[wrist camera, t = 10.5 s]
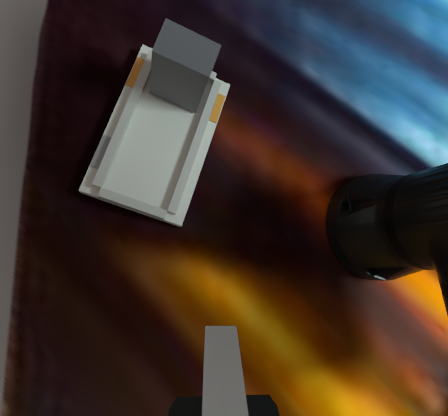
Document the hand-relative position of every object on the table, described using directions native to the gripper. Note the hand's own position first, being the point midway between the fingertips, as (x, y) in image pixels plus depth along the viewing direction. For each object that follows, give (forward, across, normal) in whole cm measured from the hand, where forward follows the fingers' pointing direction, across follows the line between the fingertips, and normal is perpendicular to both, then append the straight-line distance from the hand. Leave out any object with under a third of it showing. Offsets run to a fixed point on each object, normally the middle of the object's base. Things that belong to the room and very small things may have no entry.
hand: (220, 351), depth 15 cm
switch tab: (+28, -5, +16) cm, 32 cm away
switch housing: (+27, -7, +10) cm, 30 cm away
